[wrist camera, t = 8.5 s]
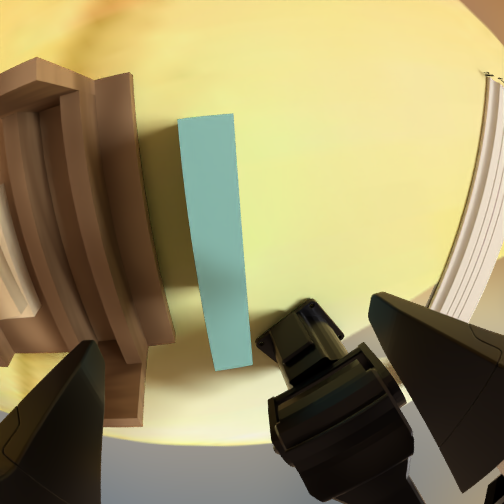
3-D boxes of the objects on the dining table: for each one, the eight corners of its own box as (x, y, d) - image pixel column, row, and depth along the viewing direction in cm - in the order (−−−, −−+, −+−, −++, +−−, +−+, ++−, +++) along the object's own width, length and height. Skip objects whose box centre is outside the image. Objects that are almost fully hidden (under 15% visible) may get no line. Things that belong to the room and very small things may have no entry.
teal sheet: (213, 119, 18) (233, 113, 10) (228, 281, 23) (252, 364, 15) (182, 122, 18) (177, 119, 10) (203, 285, 23) (215, 371, 15)
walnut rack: (132, 75, 15) (89, 38, 7) (175, 333, 24) (177, 424, 16) (-54, 145, 13) (-126, 170, 4) (11, 345, 21) (-22, 412, 13)
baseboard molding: (406, 328, 31) (459, 321, 34) (420, 343, 29) (471, 332, 32) (476, 70, 20) (520, 113, 23) (496, 70, 17) (537, 116, 20)
